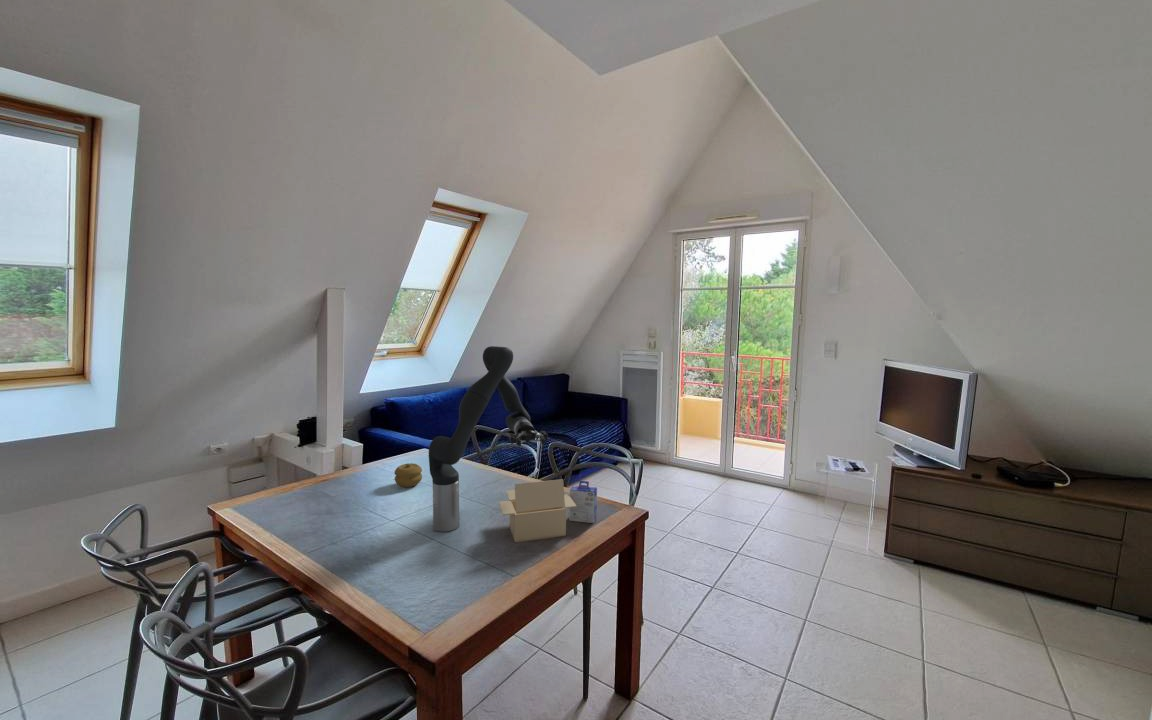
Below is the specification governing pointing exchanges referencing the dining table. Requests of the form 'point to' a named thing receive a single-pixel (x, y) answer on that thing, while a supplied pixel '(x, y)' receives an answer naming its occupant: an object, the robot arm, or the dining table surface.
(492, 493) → the dining table surface
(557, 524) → the carton
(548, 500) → the far flap
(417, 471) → the stacked bagel
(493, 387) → the robot arm
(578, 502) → the ink cartridge box
